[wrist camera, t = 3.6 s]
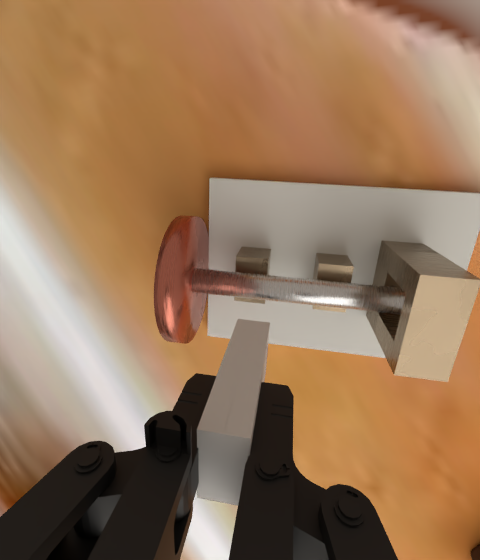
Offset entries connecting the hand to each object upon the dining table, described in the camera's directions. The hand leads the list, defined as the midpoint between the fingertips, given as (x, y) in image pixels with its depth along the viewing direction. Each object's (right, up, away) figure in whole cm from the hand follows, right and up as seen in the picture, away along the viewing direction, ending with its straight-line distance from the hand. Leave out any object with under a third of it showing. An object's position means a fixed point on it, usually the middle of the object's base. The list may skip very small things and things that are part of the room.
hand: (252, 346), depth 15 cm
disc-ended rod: (+5, +4, +12) cm, 13 cm away
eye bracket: (+6, +4, +11) cm, 13 cm away
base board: (+7, +4, +12) cm, 14 cm away
